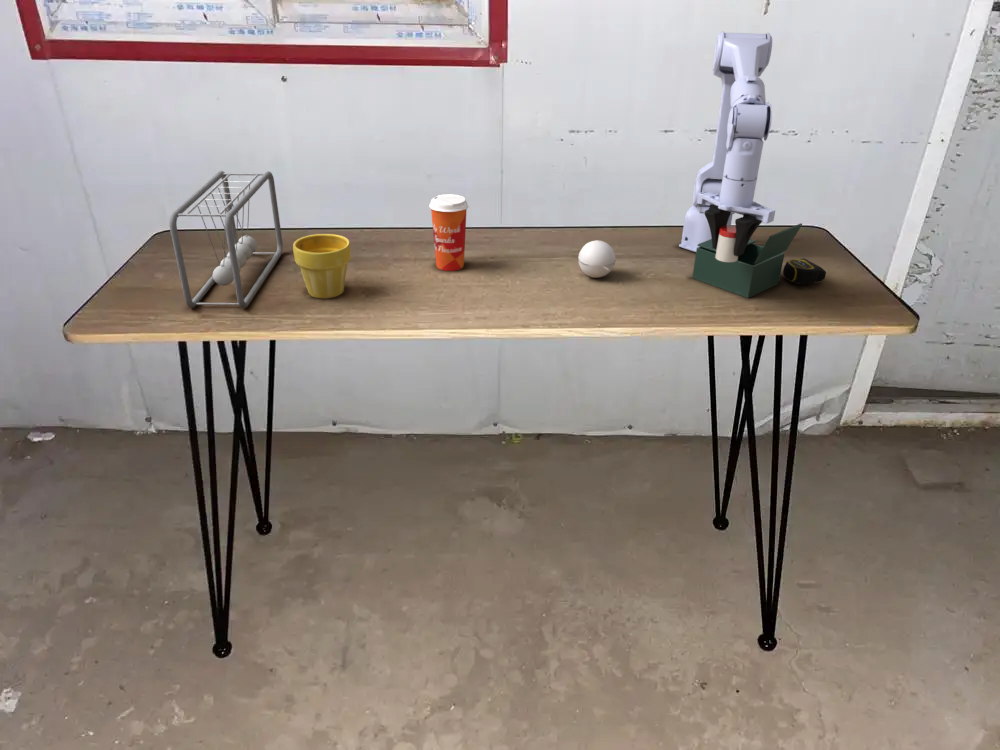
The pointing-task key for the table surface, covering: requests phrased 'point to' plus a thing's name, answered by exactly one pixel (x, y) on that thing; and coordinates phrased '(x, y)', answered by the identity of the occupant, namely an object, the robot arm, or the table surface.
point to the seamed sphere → (596, 259)
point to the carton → (737, 270)
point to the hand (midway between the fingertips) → (727, 251)
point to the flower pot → (323, 263)
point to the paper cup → (449, 230)
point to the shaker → (726, 244)
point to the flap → (778, 243)
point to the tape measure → (803, 272)
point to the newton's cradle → (228, 238)
